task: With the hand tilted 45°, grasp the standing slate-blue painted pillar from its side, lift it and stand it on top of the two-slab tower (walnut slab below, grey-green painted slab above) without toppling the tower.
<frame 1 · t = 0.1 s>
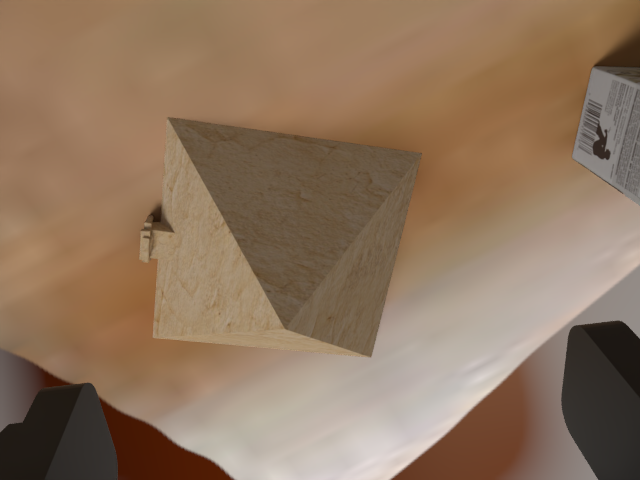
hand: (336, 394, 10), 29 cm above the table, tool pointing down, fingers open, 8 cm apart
model pyramid: (275, 245, 42), on the table
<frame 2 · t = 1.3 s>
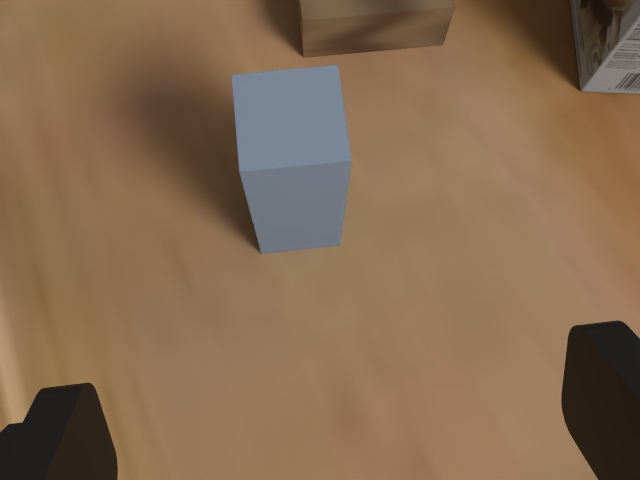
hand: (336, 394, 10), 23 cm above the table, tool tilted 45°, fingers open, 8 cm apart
coffee box: (617, 37, 40), on the table
slate pillar: (296, 212, 36), on the table
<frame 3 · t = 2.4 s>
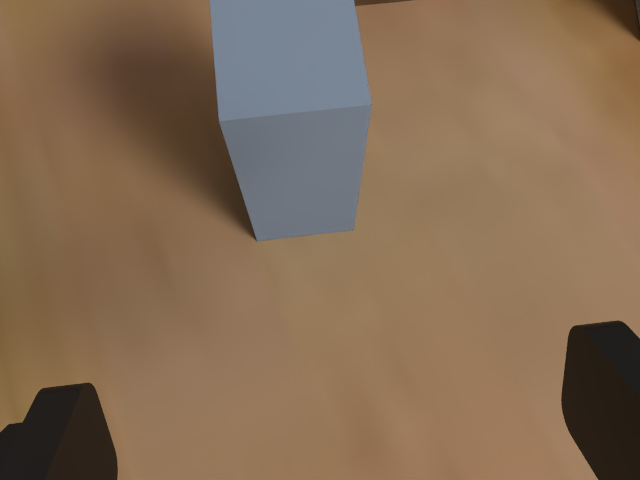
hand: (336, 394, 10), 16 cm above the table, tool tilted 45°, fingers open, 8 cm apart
slate pillar: (300, 191, 29), on the table
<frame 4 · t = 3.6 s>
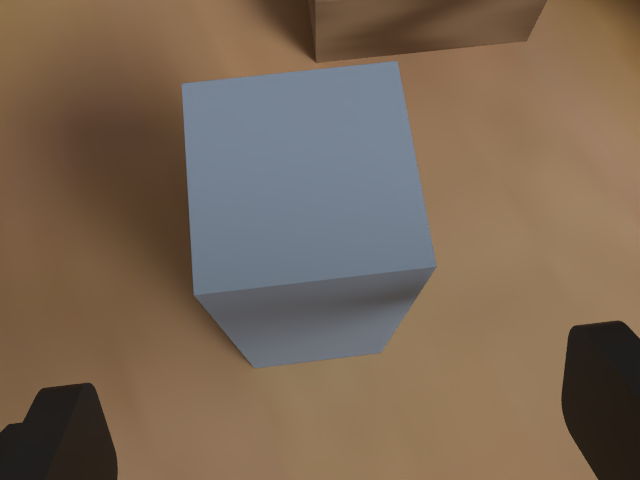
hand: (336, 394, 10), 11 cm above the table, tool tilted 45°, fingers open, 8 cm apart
slate pillar: (310, 298, 22), on the table
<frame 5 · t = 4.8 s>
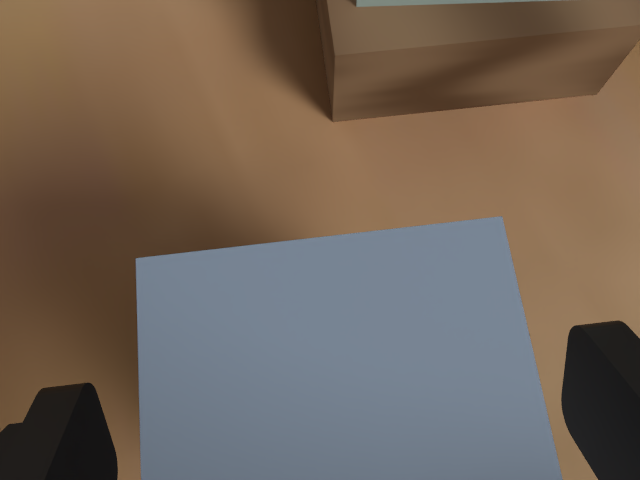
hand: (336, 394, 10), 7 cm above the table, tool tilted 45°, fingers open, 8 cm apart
walnut slab: (439, 5, 22), on the table, touching sage slab
slate pillar: (330, 439, 17), on the table
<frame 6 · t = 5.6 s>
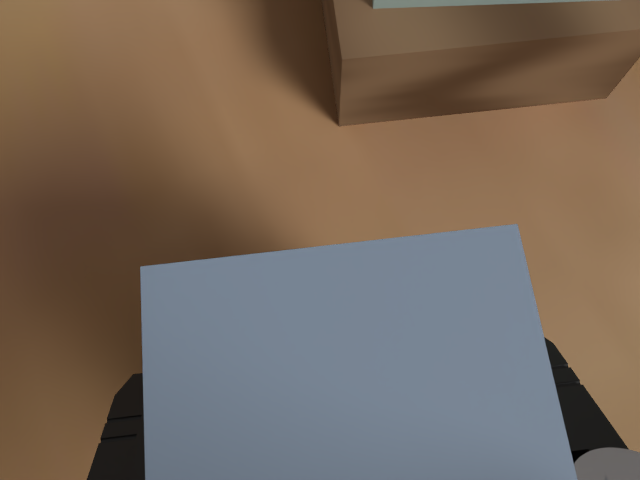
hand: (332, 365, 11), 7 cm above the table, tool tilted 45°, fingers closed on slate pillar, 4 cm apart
walnut slab: (447, 7, 22), on the table, touching sage slab
slate pillar: (336, 446, 17), on the table, touching gripper
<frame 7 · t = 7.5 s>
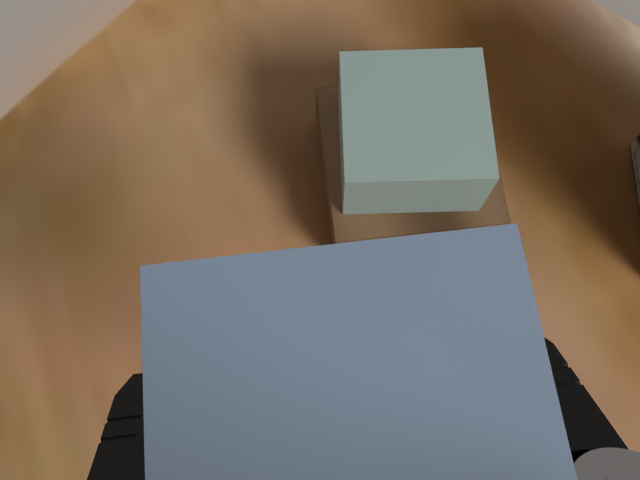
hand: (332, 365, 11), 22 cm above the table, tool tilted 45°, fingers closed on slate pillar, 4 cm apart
sage slab: (406, 151, 33), point 4 cm above the table, touching walnut slab
walnut slab: (400, 183, 36), on the table, touching sage slab
slate pillar: (336, 445, 17), point 15 cm above the table, touching gripper
when the fingers open (16 cm above the table, at t = 10.5 s): slate pillar drops 1 cm, resting on sage slab.
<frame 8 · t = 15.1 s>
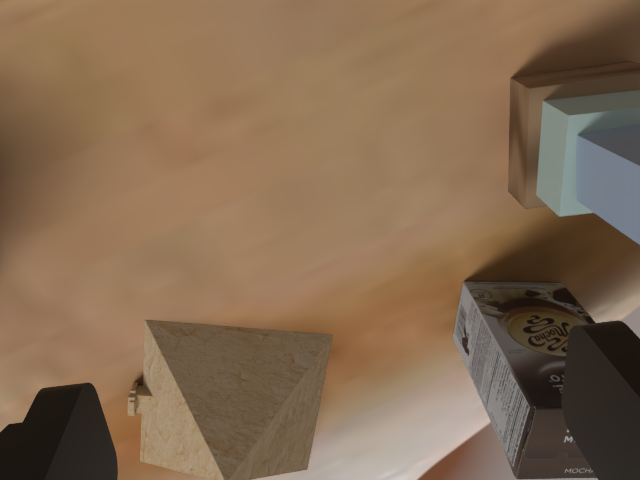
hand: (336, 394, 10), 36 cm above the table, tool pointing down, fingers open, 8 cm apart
sage slab: (587, 144, 44), point 4 cm above the table, touching slate pillar, walnut slab
coffee box: (505, 309, 54), on the table
walnut slab: (564, 127, 47), on the table, touching sage slab
slate pillar: (610, 162, 40), point 8 cm above the table, touching sage slab
model pyramid: (229, 395, 57), on the table
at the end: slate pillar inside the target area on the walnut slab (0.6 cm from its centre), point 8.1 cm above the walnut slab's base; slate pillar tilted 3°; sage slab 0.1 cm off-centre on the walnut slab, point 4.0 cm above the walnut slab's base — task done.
